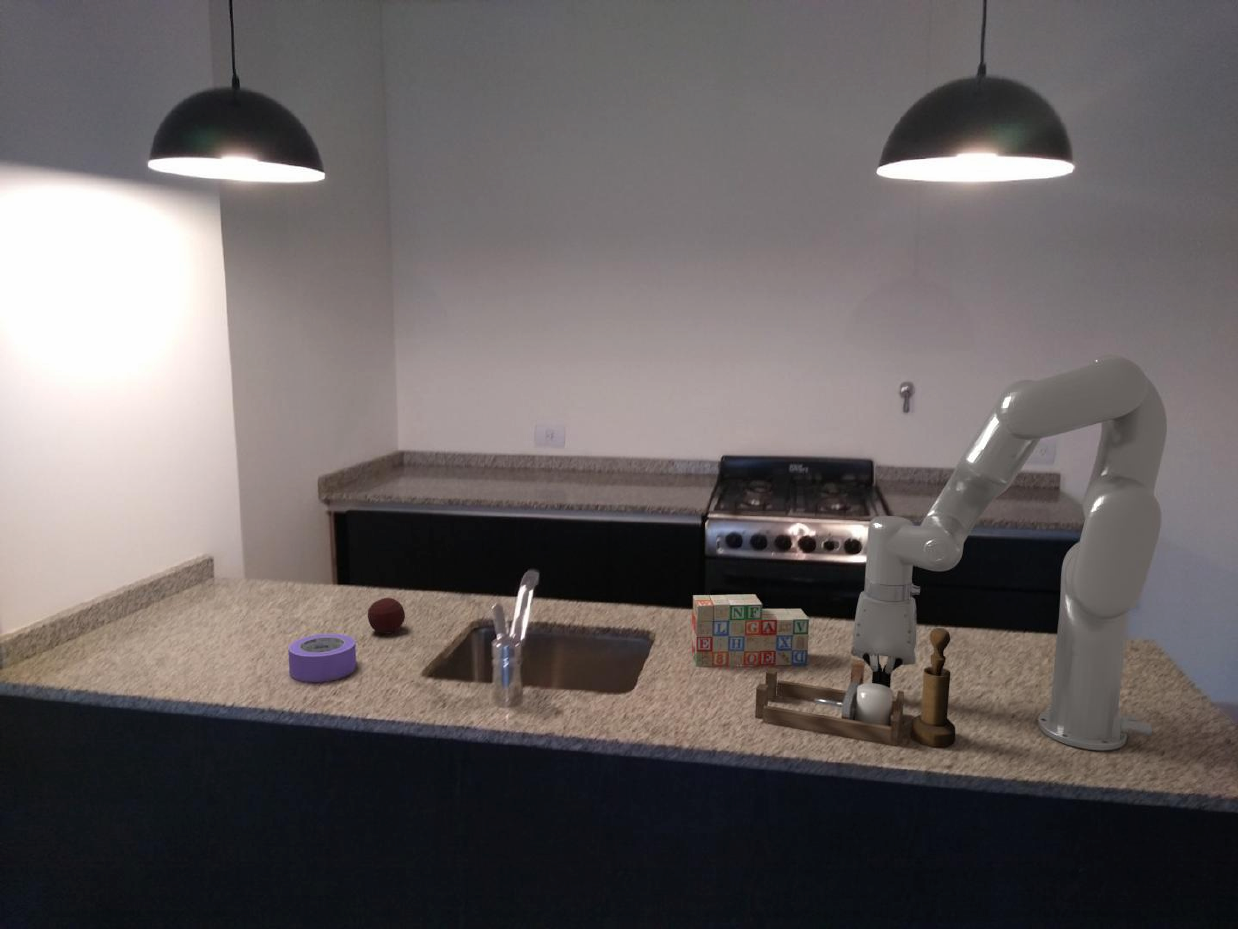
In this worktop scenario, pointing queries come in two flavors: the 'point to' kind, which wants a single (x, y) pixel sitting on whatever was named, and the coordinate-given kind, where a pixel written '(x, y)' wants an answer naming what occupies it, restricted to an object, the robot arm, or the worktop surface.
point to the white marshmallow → (874, 704)
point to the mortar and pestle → (935, 698)
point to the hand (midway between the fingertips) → (880, 691)
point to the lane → (821, 721)
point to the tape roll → (322, 657)
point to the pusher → (849, 691)
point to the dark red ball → (386, 615)
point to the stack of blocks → (746, 632)
